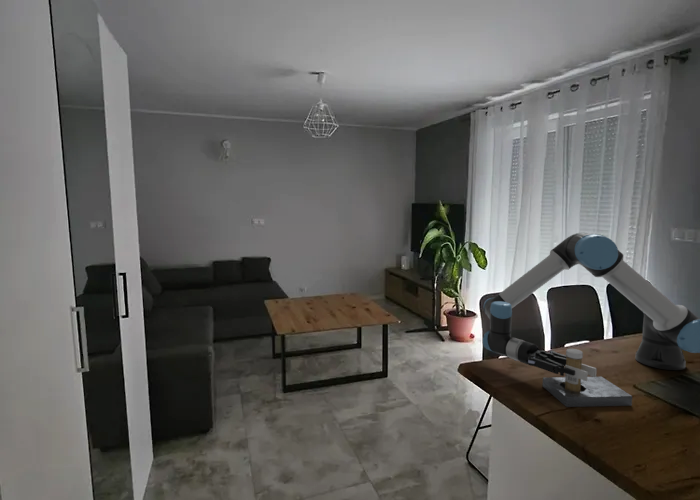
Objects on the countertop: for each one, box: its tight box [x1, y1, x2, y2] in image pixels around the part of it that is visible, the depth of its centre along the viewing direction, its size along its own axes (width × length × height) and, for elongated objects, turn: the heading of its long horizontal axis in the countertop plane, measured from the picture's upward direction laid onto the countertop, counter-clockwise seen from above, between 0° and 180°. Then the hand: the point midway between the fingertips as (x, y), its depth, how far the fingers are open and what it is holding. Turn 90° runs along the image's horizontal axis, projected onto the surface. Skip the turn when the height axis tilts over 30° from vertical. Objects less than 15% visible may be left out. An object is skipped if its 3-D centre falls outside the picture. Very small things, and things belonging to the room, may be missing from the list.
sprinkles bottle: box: [564, 348, 584, 392], centre depth 124 cm, size 5×5×13 cm
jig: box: [542, 376, 633, 408], centre depth 125 cm, size 20×14×3 cm
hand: (591, 374), depth 119 cm, fingers open, 4 cm apart
